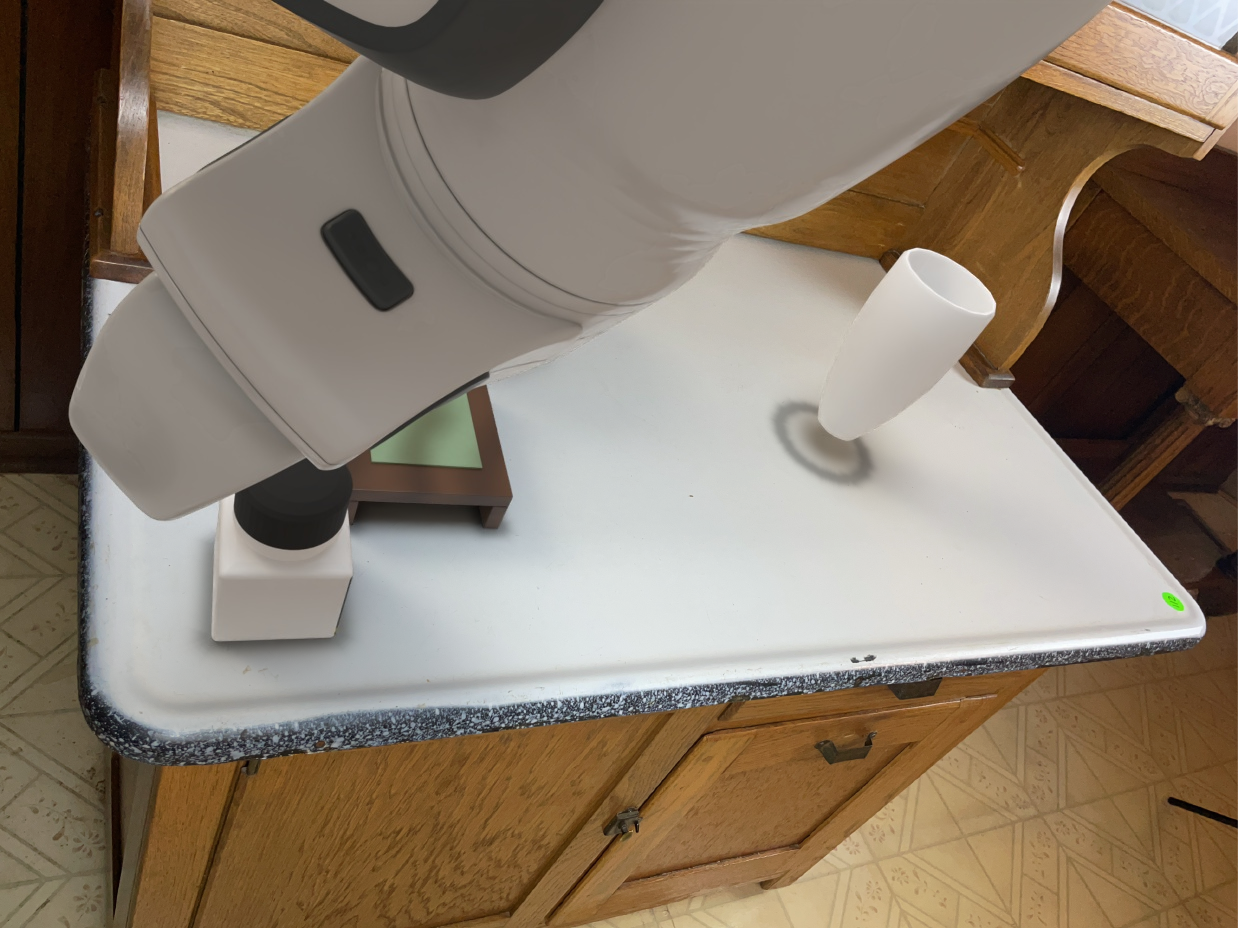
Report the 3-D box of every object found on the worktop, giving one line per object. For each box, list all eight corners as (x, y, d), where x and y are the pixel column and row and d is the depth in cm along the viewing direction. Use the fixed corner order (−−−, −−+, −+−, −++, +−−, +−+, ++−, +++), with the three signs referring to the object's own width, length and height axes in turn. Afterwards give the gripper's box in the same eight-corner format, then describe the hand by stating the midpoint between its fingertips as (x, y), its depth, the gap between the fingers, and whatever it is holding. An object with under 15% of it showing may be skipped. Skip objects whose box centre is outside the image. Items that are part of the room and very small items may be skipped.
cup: (794, 473, 85) (927, 304, 70) (767, 400, 91) (883, 232, 77) (878, 487, 88) (1021, 330, 74) (846, 417, 95) (971, 260, 81)
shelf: (334, 525, 60) (348, 469, 56) (323, 377, 69) (335, 320, 65) (498, 529, 65) (521, 479, 61) (468, 392, 74) (487, 340, 70)
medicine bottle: (335, 639, 54) (370, 524, 46) (210, 643, 51) (225, 520, 43) (329, 547, 58) (360, 428, 51) (214, 546, 55) (228, 418, 47)
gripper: (655, -4, 28) (458, 194, 39) (62, 233, 16) (6, 433, 26) (757, 162, 30) (539, 310, 40) (286, 507, 17) (147, 593, 27)
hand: (326, 361), depth 33 cm, fingers open, 8 cm apart
